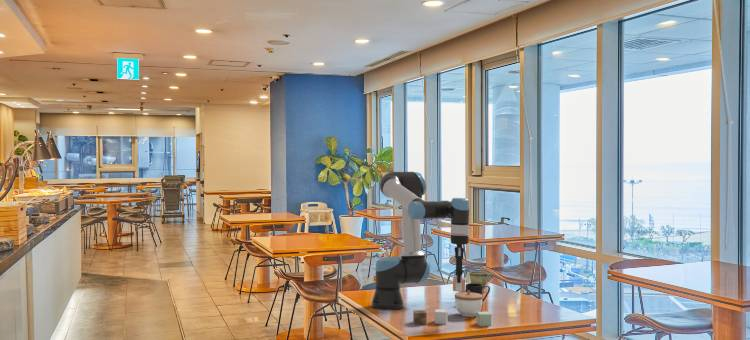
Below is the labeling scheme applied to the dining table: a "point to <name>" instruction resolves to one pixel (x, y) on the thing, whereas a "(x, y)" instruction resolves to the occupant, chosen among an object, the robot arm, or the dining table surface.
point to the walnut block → (419, 317)
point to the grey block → (441, 316)
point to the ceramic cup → (479, 277)
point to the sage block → (483, 318)
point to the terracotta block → (462, 283)
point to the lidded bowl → (468, 303)
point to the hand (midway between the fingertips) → (458, 288)
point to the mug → (477, 289)
